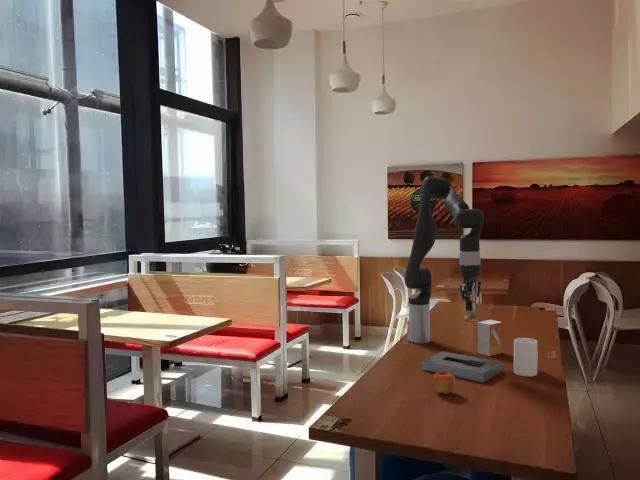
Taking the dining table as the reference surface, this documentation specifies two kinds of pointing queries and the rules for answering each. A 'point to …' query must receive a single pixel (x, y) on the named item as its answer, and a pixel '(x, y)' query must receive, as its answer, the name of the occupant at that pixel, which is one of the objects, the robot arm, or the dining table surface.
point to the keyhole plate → (463, 366)
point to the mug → (525, 356)
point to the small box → (490, 337)
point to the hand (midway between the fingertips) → (471, 309)
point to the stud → (472, 314)
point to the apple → (444, 382)
